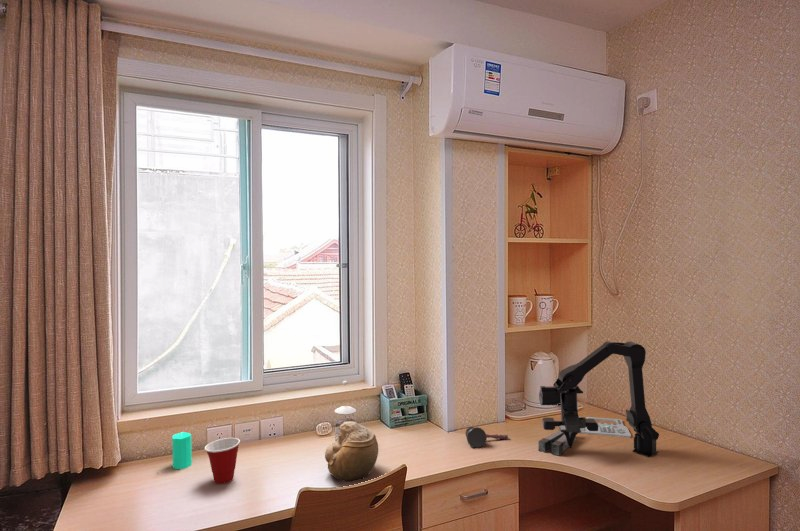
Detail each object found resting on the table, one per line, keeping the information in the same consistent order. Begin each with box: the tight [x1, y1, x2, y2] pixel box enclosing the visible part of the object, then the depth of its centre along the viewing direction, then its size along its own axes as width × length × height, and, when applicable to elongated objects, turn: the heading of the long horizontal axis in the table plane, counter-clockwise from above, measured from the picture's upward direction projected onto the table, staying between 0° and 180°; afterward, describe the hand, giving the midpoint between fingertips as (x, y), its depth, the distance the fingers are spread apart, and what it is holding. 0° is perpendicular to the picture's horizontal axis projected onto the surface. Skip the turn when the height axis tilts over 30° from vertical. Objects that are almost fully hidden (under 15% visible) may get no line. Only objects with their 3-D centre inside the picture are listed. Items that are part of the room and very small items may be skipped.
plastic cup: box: [204, 437, 241, 485], centre depth 157 cm, size 11×11×12 cm
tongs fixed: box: [538, 429, 564, 453], centre depth 185 cm, size 22×4×5 cm, turn 136°
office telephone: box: [578, 415, 632, 439], centre depth 204 cm, size 23×3×20 cm
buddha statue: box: [324, 421, 379, 483], centre depth 161 cm, size 20×17×17 cm
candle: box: [171, 431, 193, 470], centre depth 169 cm, size 6×6×12 cm
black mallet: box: [465, 426, 509, 449], centre depth 187 cm, size 8×18×8 cm
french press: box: [334, 380, 357, 442], centre depth 185 cm, size 10×12×25 cm
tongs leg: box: [551, 432, 576, 456], centre depth 182 cm, size 18×3×4 cm, turn 142°
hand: (570, 447), depth 178 cm, fingers closed
